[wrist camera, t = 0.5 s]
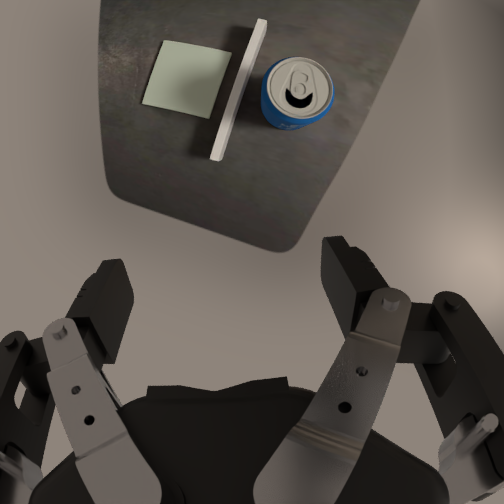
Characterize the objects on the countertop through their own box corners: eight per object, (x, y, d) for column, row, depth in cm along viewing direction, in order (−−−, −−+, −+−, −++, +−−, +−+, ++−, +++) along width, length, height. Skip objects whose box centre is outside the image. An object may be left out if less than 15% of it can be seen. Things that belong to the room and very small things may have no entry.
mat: (165, 41, 31) (164, 40, 30) (232, 54, 32) (231, 52, 31) (143, 104, 34) (142, 103, 33) (209, 119, 35) (208, 118, 34)
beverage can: (257, 126, 35) (256, 117, 24) (264, 77, 33) (266, 47, 21) (310, 134, 35) (333, 129, 24) (316, 85, 33) (341, 61, 22)
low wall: (258, 28, 30) (258, 18, 27) (266, 30, 31) (267, 20, 27) (214, 157, 36) (209, 158, 33) (221, 159, 36) (218, 161, 33)
